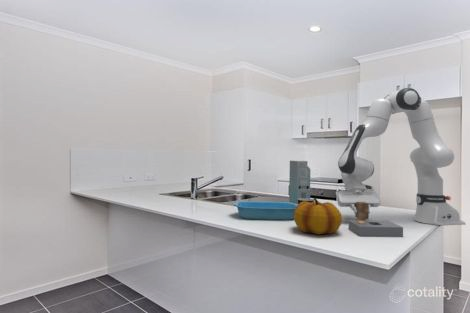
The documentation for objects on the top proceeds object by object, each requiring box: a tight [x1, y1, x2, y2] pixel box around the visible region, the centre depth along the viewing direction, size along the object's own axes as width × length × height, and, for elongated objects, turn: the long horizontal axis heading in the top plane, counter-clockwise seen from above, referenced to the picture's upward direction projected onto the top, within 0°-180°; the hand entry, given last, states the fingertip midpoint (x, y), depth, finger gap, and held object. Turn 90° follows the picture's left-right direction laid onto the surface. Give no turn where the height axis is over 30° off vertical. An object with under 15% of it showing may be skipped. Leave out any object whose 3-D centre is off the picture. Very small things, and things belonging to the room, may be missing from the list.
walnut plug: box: [354, 202, 370, 220], centre depth 150 cm, size 4×6×11 cm, turn 0°
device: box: [288, 160, 311, 204], centre depth 186 cm, size 16×8×30 cm, turn 6°
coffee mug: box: [298, 198, 315, 204], centre depth 166 cm, size 12×9×10 cm
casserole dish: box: [232, 200, 298, 221], centre depth 168 cm, size 37×22×7 cm, turn 89°
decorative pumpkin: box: [293, 197, 343, 236], centre depth 137 cm, size 20×22×15 cm
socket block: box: [348, 219, 404, 238], centre depth 136 cm, size 18×13×5 cm
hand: (362, 213), depth 149 cm, fingers closed on walnut plug, 4 cm apart
